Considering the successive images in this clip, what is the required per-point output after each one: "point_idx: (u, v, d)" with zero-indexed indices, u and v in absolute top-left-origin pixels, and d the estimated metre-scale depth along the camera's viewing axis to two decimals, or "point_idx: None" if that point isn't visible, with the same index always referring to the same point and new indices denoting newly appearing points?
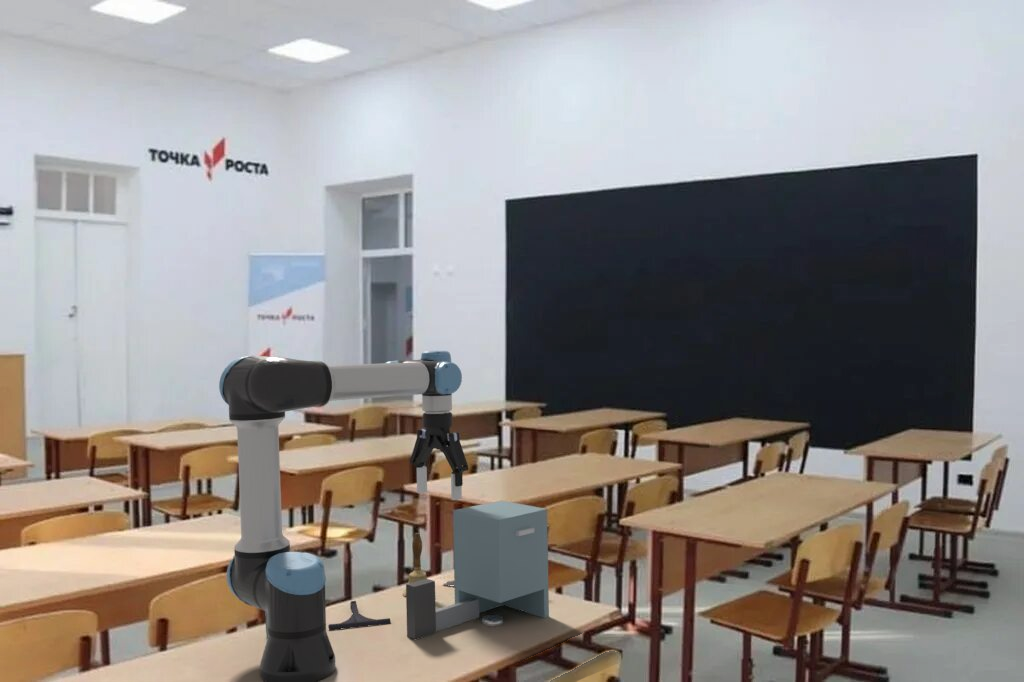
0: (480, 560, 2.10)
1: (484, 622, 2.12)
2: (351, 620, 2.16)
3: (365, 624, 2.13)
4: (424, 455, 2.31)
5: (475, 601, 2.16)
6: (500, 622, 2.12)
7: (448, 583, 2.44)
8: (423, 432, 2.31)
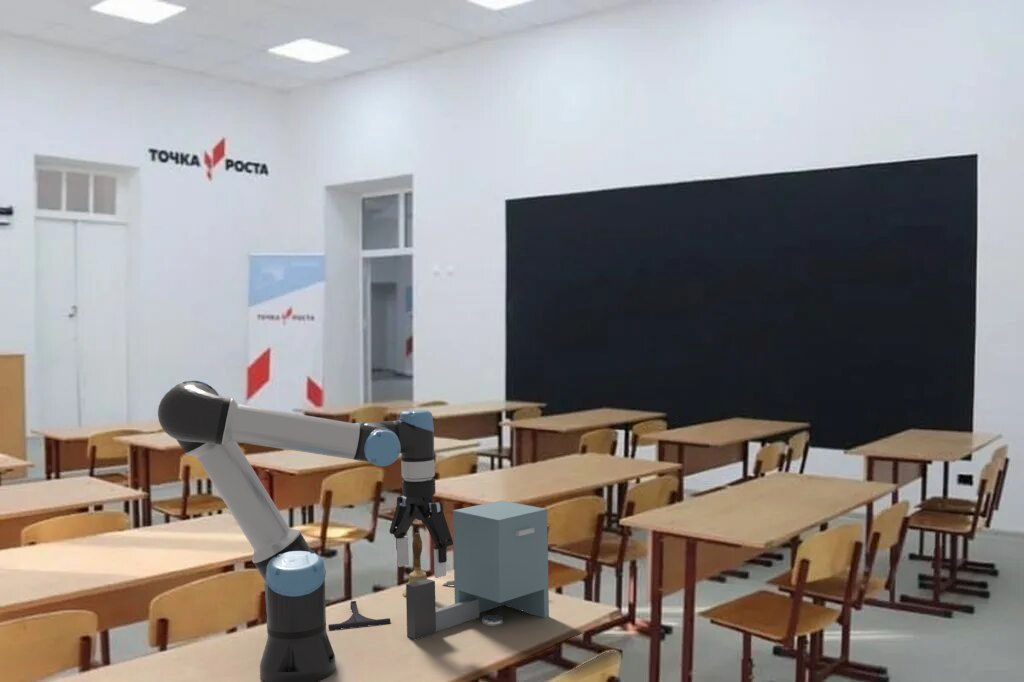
0: (480, 560, 2.10)
1: (484, 622, 2.12)
2: (351, 620, 2.16)
3: (365, 624, 2.13)
4: (405, 525, 2.08)
5: (475, 601, 2.16)
6: (500, 622, 2.12)
7: (448, 583, 2.44)
8: (403, 500, 2.09)
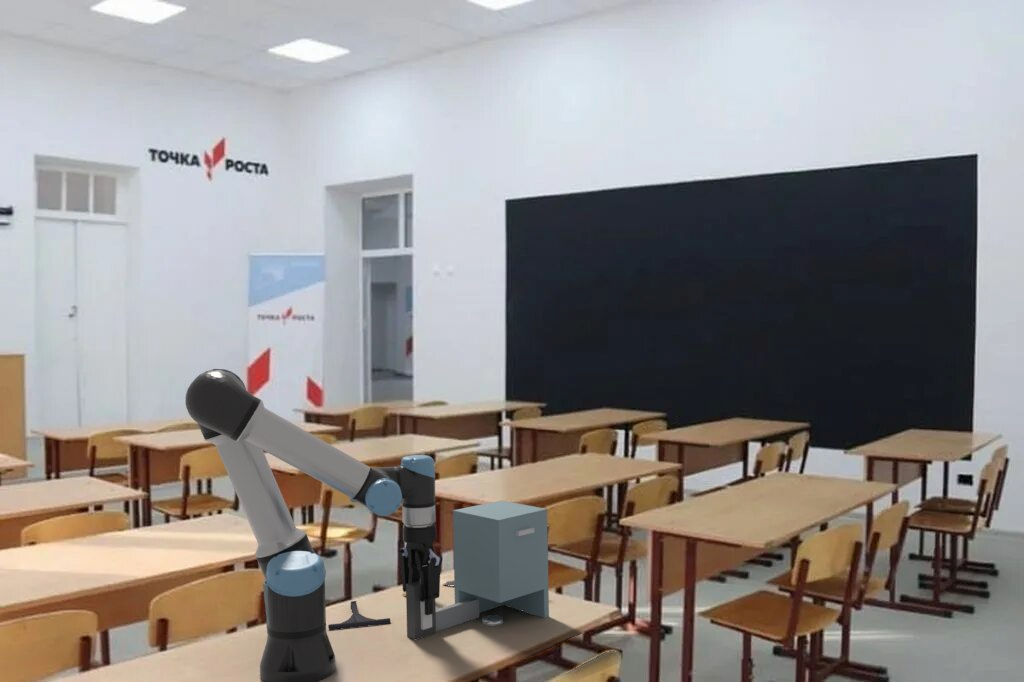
0: (480, 560, 2.10)
1: (484, 622, 2.12)
2: (351, 620, 2.16)
3: (365, 624, 2.13)
4: (413, 577, 2.06)
5: (475, 601, 2.16)
6: (500, 622, 2.12)
7: (448, 583, 2.44)
8: (405, 549, 2.09)
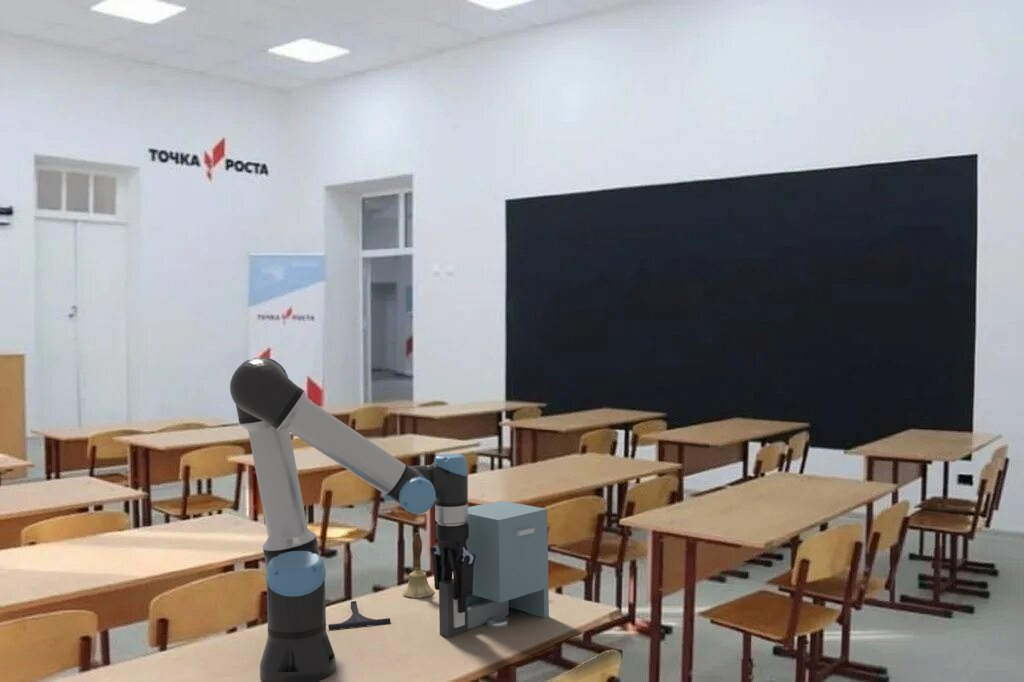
0: (480, 560, 2.10)
1: (489, 623, 2.11)
2: (351, 620, 2.16)
3: (365, 624, 2.13)
4: (446, 575, 2.07)
5: None
6: (505, 623, 2.11)
7: None
8: (437, 548, 2.10)
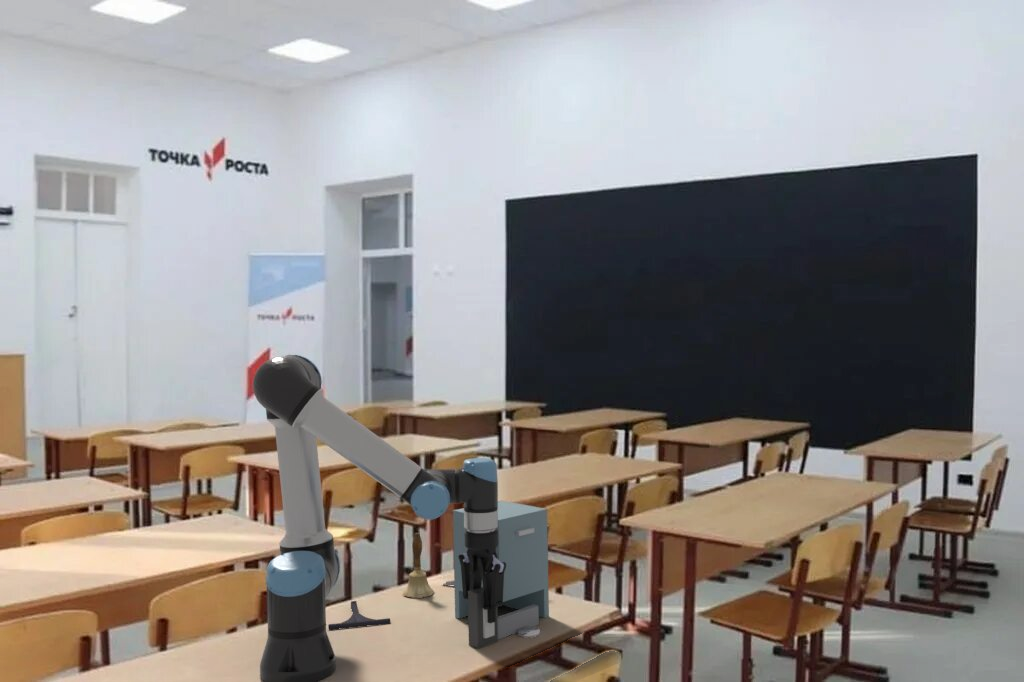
0: None
1: (521, 634, 2.04)
2: (351, 620, 2.16)
3: (365, 624, 2.13)
4: (475, 584, 2.00)
5: (535, 608, 2.10)
6: (537, 634, 2.04)
7: (447, 583, 2.44)
8: (465, 555, 2.03)
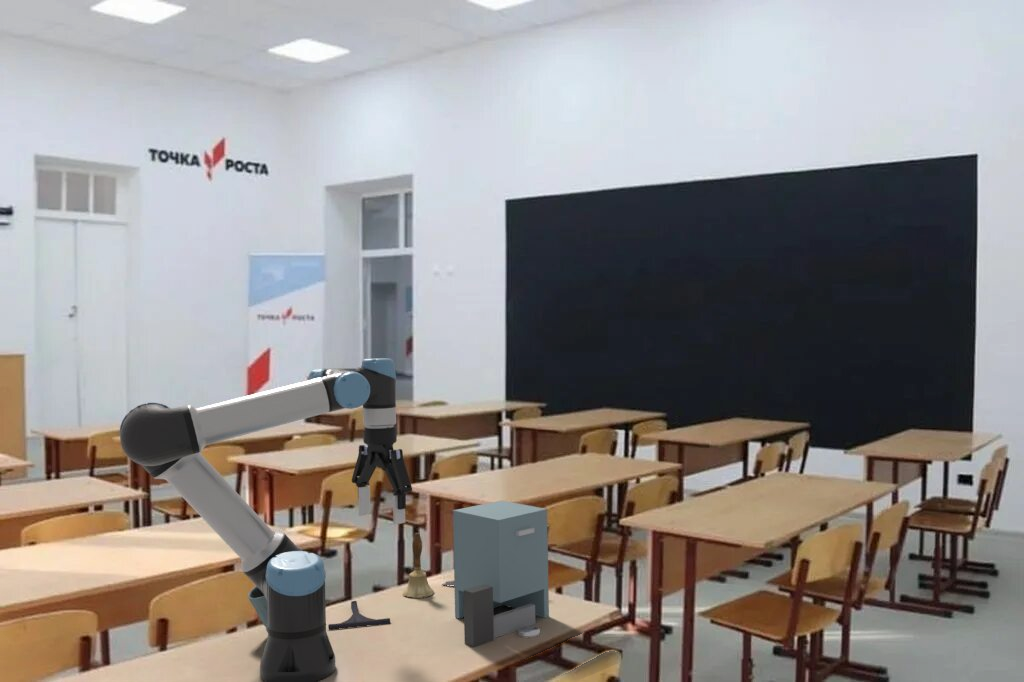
0: (480, 560, 2.10)
1: (521, 634, 2.04)
2: (351, 620, 2.16)
3: (365, 624, 2.13)
4: (366, 474, 2.09)
5: (531, 607, 2.11)
6: (537, 634, 2.04)
7: (447, 583, 2.44)
8: (365, 448, 2.09)
